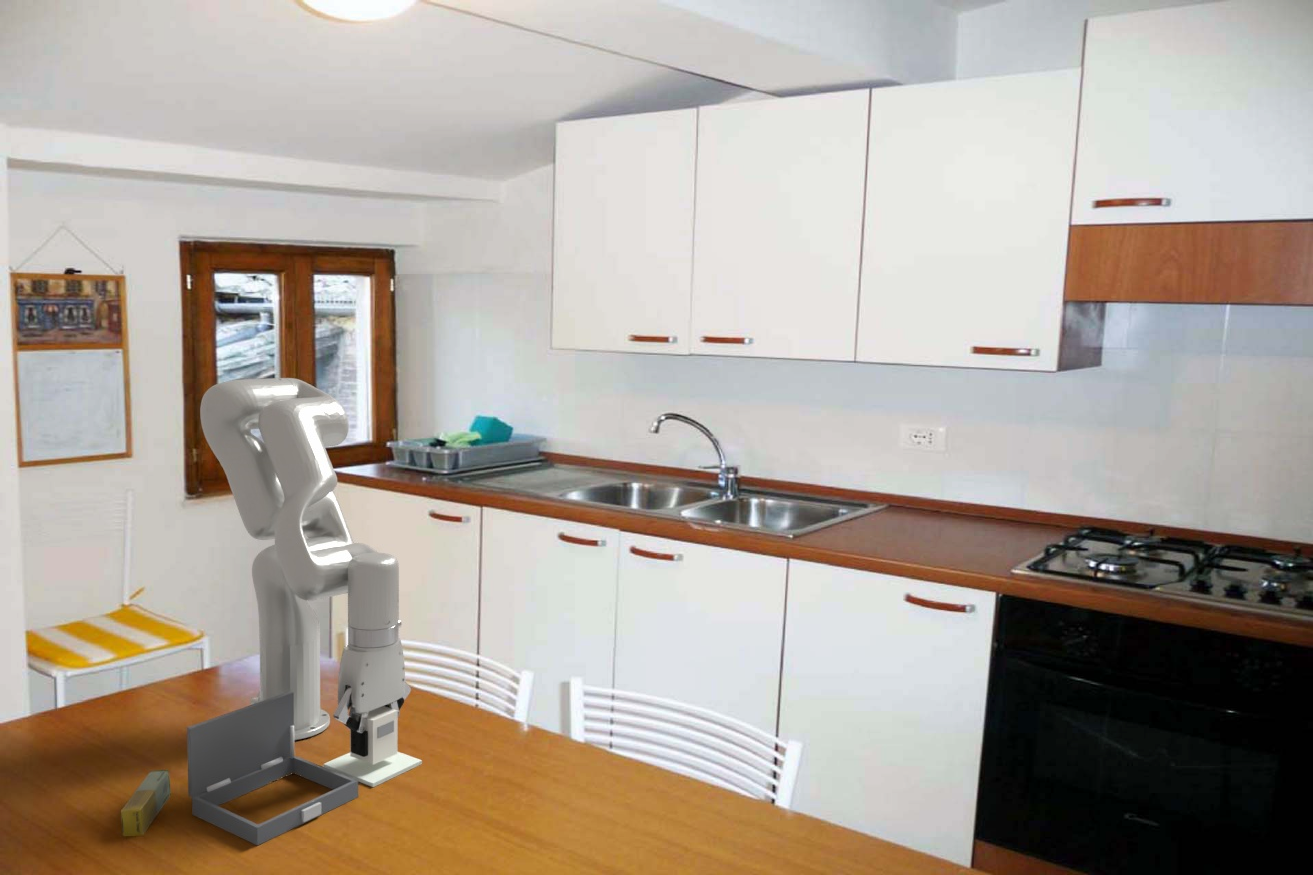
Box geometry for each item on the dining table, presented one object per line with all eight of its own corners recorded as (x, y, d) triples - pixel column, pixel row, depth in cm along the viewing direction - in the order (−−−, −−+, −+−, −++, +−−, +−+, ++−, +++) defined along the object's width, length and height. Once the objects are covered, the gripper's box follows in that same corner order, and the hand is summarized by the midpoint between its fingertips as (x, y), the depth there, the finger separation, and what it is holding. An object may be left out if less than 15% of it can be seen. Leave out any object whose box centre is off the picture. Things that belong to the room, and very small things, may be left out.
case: (188, 812, 148) (186, 727, 146) (290, 769, 163) (290, 691, 161) (260, 846, 140) (258, 756, 138) (360, 797, 154) (360, 715, 153)
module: (350, 756, 164) (350, 712, 163) (375, 745, 168) (375, 702, 167) (373, 764, 161) (373, 720, 160) (398, 753, 165) (398, 710, 164)
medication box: (151, 795, 153) (150, 769, 153) (171, 795, 153) (170, 768, 153) (121, 838, 141) (119, 809, 141) (142, 837, 142) (141, 808, 141)
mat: (323, 767, 164) (323, 763, 163) (372, 745, 172) (372, 742, 172) (373, 787, 158) (373, 783, 158) (421, 763, 166) (421, 760, 166)
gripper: (397, 617, 171) (397, 724, 174) (311, 643, 157) (312, 760, 159) (431, 625, 167) (430, 736, 170) (346, 653, 153) (347, 773, 155)
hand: (373, 746), depth 164 cm, fingers closed on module, 5 cm apart
